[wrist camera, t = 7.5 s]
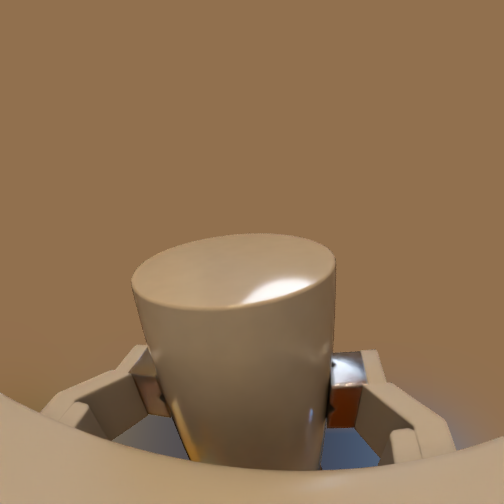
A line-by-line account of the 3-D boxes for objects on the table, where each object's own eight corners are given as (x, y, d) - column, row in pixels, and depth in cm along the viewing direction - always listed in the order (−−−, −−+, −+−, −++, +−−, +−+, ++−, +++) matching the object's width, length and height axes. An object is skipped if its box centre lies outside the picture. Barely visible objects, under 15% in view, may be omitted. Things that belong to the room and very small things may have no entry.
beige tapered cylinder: (304, 420, 12) (304, 226, 10) (332, 504, 8) (374, 286, 5) (200, 433, 12) (153, 243, 9) (200, 522, 7) (101, 318, 5)
